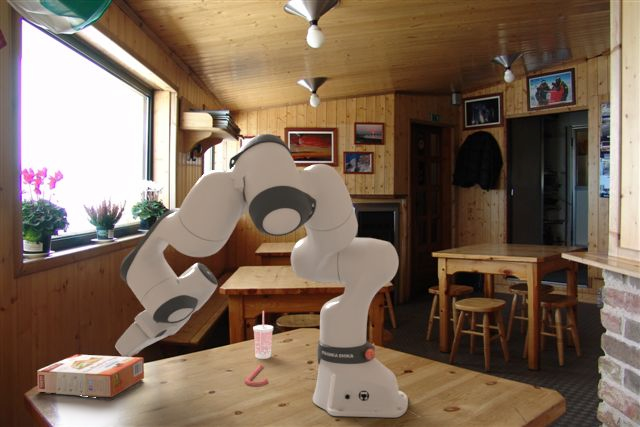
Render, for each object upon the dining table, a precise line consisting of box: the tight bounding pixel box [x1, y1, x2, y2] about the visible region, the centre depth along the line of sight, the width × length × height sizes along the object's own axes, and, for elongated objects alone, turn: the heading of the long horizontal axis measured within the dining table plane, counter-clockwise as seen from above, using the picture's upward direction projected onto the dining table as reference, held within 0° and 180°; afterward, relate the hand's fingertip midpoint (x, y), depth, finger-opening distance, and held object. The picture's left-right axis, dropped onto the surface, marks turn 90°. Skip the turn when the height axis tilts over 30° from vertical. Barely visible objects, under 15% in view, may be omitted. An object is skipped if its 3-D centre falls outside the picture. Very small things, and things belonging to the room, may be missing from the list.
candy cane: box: [244, 363, 269, 387], centre depth 136 cm, size 6×15×2 cm, turn 170°
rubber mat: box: [88, 379, 144, 401], centre depth 126 cm, size 9×13×1 cm
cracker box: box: [36, 354, 145, 397], centre depth 127 cm, size 14×6×21 cm
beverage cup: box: [252, 310, 274, 360], centre depth 153 cm, size 6×6×14 cm
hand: (130, 353), depth 124 cm, fingers closed
